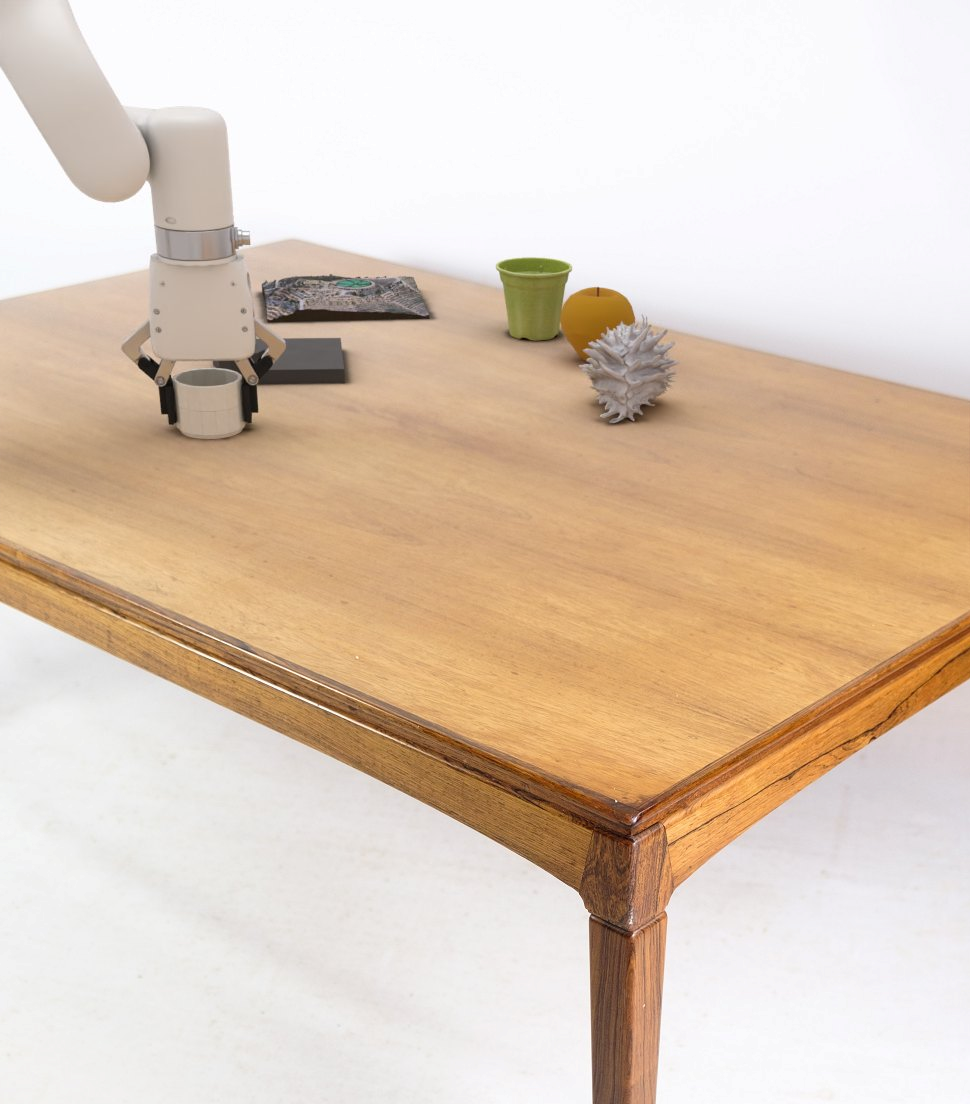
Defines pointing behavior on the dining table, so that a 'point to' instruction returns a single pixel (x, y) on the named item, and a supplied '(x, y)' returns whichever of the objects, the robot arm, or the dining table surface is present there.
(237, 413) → the white cup
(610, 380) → the spiky white shell
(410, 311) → the terrain model
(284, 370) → the scale
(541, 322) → the plant pot
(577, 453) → the dining table surface
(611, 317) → the apple
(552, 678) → the dining table surface
